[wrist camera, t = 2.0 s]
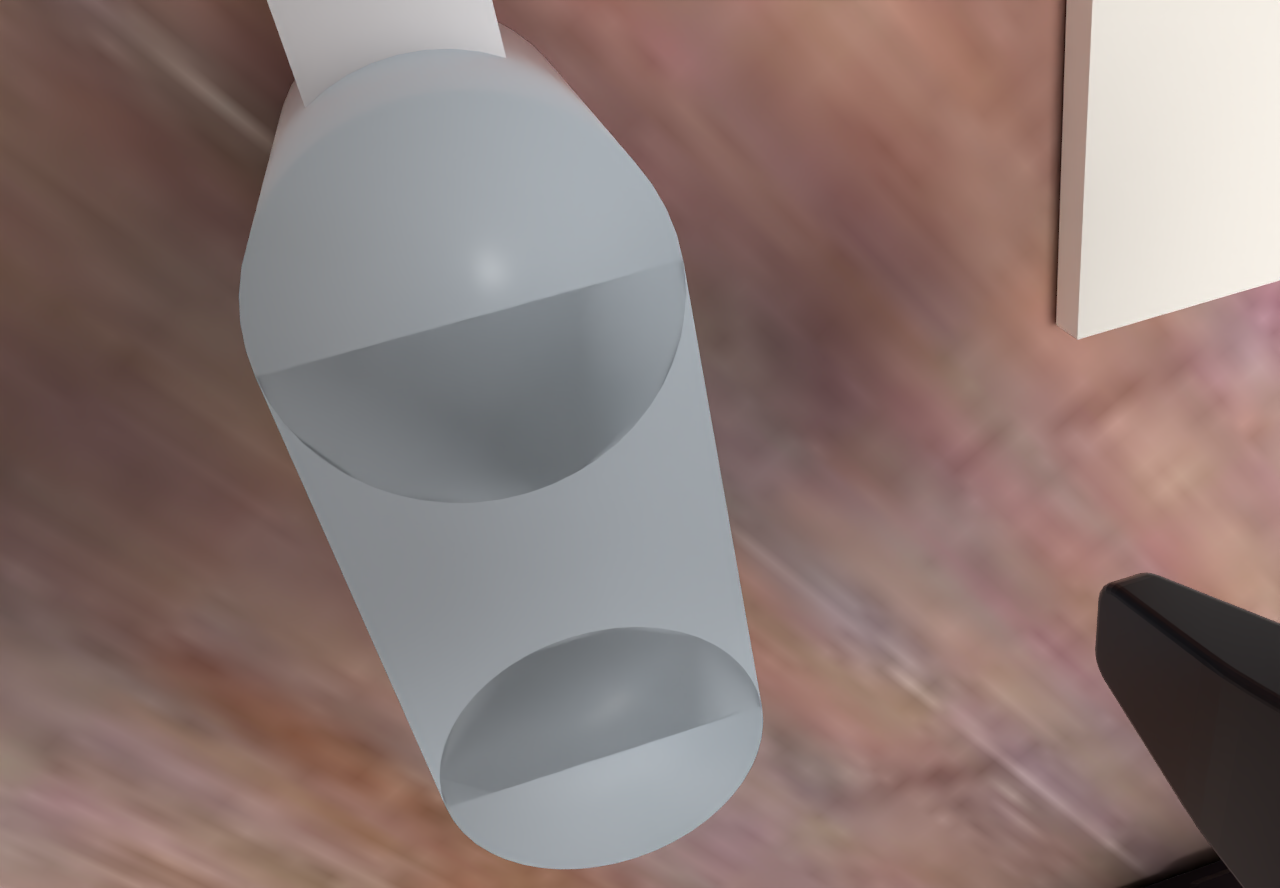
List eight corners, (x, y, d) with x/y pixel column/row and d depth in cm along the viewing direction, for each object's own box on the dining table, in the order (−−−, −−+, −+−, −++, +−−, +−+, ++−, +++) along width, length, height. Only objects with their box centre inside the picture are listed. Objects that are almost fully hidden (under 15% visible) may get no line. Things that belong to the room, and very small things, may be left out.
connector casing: (681, 583, 18) (780, 809, 14) (457, 652, 18) (489, 906, 14) (491, -295, 11) (572, -369, 7) (122, -217, 11) (-22, -246, 7)
